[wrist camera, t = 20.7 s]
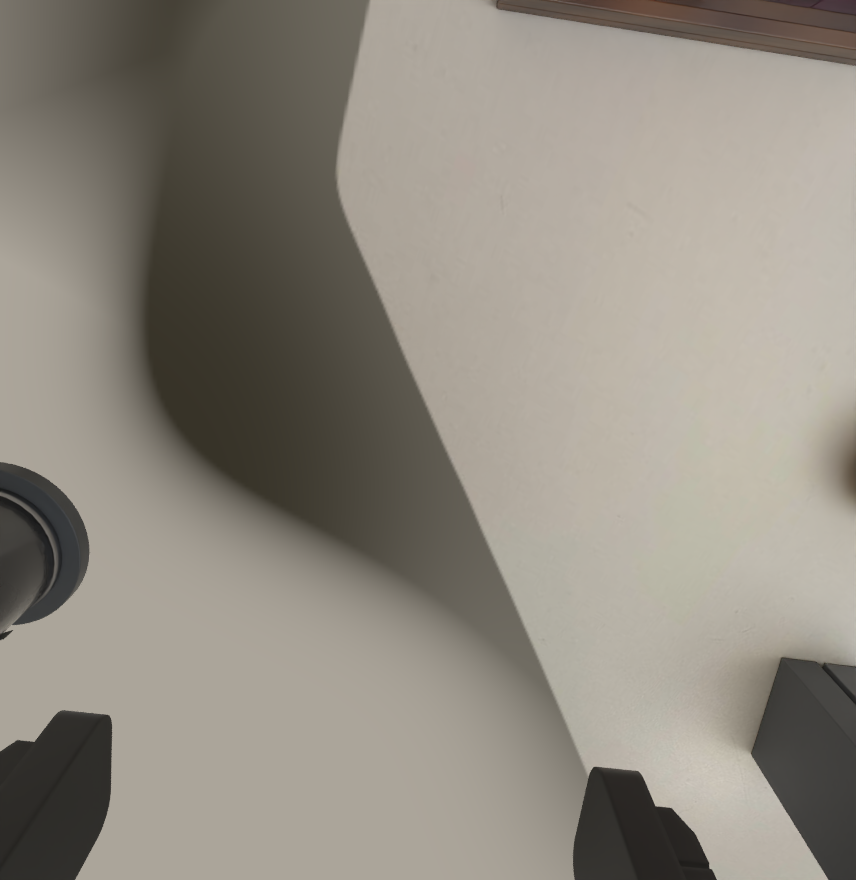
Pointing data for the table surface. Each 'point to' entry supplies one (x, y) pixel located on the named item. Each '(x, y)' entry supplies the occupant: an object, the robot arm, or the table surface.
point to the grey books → (814, 758)
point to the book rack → (722, 22)
